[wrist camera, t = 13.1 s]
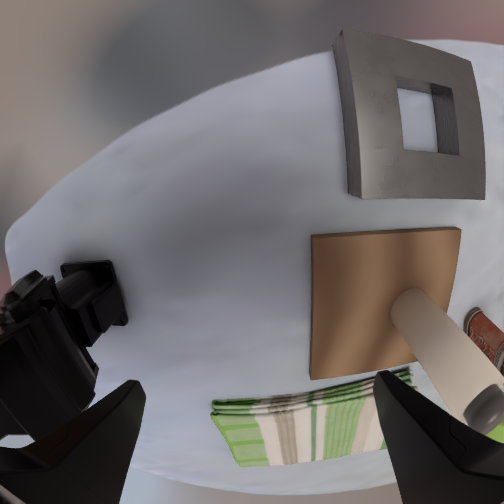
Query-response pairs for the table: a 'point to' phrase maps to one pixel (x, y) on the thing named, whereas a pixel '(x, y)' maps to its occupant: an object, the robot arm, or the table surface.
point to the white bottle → (450, 361)
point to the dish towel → (302, 424)
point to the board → (373, 294)
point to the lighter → (486, 337)
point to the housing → (389, 119)
